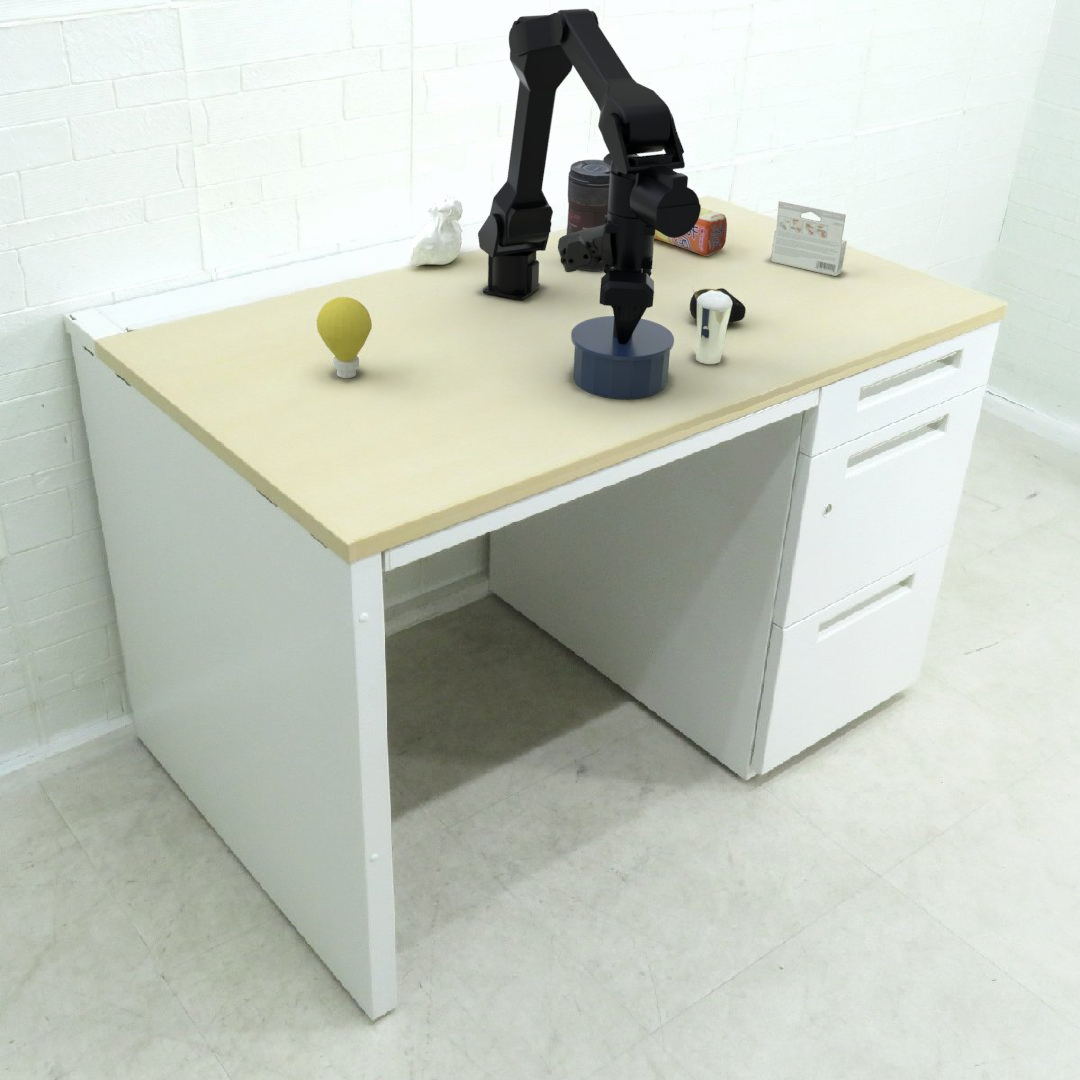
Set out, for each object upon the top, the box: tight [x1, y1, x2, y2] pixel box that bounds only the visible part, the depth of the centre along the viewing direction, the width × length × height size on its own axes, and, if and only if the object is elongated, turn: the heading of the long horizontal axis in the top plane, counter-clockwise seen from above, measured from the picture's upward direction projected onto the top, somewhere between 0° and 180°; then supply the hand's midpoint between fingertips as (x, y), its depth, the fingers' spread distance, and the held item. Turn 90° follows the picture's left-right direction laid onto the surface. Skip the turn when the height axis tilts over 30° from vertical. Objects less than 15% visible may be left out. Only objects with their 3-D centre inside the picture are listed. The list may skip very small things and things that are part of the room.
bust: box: [409, 194, 463, 267], centre depth 195 cm, size 12×8×11 cm
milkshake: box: [691, 286, 732, 365], centre depth 167 cm, size 4×5×10 cm
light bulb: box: [316, 296, 373, 379], centre depth 160 cm, size 7×7×10 cm
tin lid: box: [570, 315, 675, 361], centre depth 160 cm, size 13×13×6 cm
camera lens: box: [566, 159, 611, 272], centre depth 195 cm, size 8×8×15 cm
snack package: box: [654, 207, 728, 257], centre depth 208 cm, size 21×7×7 cm, turn 47°
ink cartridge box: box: [770, 200, 848, 277], centre depth 198 cm, size 2×11×10 cm, turn 58°
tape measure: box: [689, 287, 747, 324], centre depth 180 cm, size 7×7×4 cm
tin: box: [572, 345, 671, 400], centre depth 162 cm, size 12×12×5 cm
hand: (622, 334), depth 161 cm, fingers open, 5 cm apart
